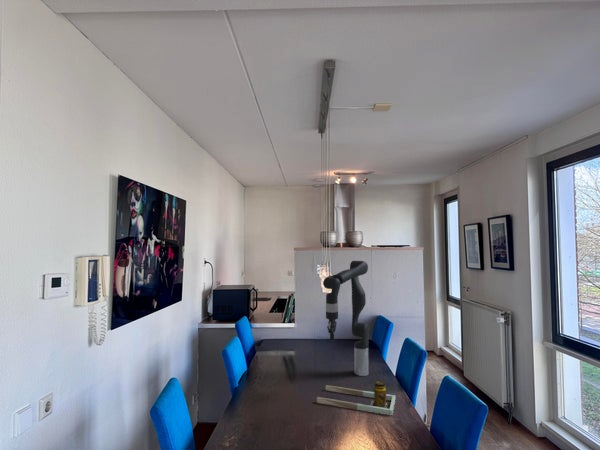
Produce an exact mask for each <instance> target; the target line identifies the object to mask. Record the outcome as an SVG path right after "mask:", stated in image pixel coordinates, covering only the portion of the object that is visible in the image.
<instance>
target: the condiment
mask: <svg viewBox="0 0 600 450" xmlns="http://www.w3.org/2000/svg"><path fill="white" fill-rule="evenodd" d="M386 391H387V389H386V383H385V382H384V381H383V380H382V381H381V380H377V381H375V382H374V388H373V392H374V398H373V400H371V402H370V404H369V405H370V406H373V405H374V406H376V407H382V408H385V407H386V405H387V406H388V403H387V400H386V394H387V393H386ZM386 408H387V407H386Z"/></svg>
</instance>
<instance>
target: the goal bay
mask: <svg viewBox="0 0 600 450" xmlns="http://www.w3.org/2000/svg"><path fill="white" fill-rule="evenodd" d="M362 391H363V396H362V397H367V398H372V399H374V391H370V390H369V391H368V390H367V391H366V390H362ZM396 397H397V396H396V395H395V394H394V395H393V394H387V393H386V401H390V400H391V402H390V406H389V408H387V407H386V408H382V407H376V406H370V404H362V403H358V404H357V410H358V411H362V412H369V413H373V412H374V414H379V413H380V414H379V415H385V414H387V416H391V415H392V416H393V414H394V411H393V410H395V409H394V408H395V406H394V405H395V404H396V401H395V400H396Z"/></svg>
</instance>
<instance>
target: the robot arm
mask: <svg viewBox="0 0 600 450" xmlns="http://www.w3.org/2000/svg"><path fill="white" fill-rule="evenodd" d="M368 270H369V266H368V263H367V262H366V261H365V260H352V261H351V262H350V264H349V268H348V269H344V270H342V271H339V272H338V273H336V274H332V275H329V276H327V277H325V278H324V279H323V282H322V285H323V287H324V288H325V289H329V290H331V292H328V293H326V296H325V319H326V320H328V322H327V326H326V328H327V332H328V334H329V340H330V341H334V340H335V332H336V329H337V321H336V320H338V319H339V303H338V301H339V300H338V298H339V297H338V296H339V292H340V289H341V288H340V287H341V285H343V284H345V283H346V282H348V281H349V280H350V282H351V307H352V308H351V309H352V310H351V311H352V313H351V315H352V316H351V333H352V336H354V337H356V338H357V337H358V338H362V339H361V340H358V341H355V342H354V344H353V345H354V346H353V347H354V349H353V350H354V353H353V354H354V356H353V357H354V360H353V361H354V374H355V375H356V376H358V377H359V376H360V377H365V376H369V340H370V338H369V336H370V334H369V333H370V328H369V327H370V326H369V324H368V323H364V322H359V316H360V314H361V313H362V311H363V310H364V308H365V306H366V293H365V290H364V287H363V286H362V285H361V283H360V279H359V276H363V275H365V274H367V272H368Z"/></svg>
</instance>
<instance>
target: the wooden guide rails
mask: <svg viewBox="0 0 600 450" xmlns="http://www.w3.org/2000/svg"><path fill="white" fill-rule="evenodd" d="M325 391H327V392H333V393H339V394H347V395H352V396H353V395H354V396H357V397H358V396H359V397H364V396H363V391H364V390H361V389H355V388H347V387H342V386H334V385H328V384H326V385H325ZM316 403H317V404H322V405H327V406H335V407H339V408H346V409H351V410H357V404H359V403H357V402H351V401H345V400H339V399H334V398H326V397H321V396H320V397H319V396H317V397H316Z"/></svg>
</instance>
